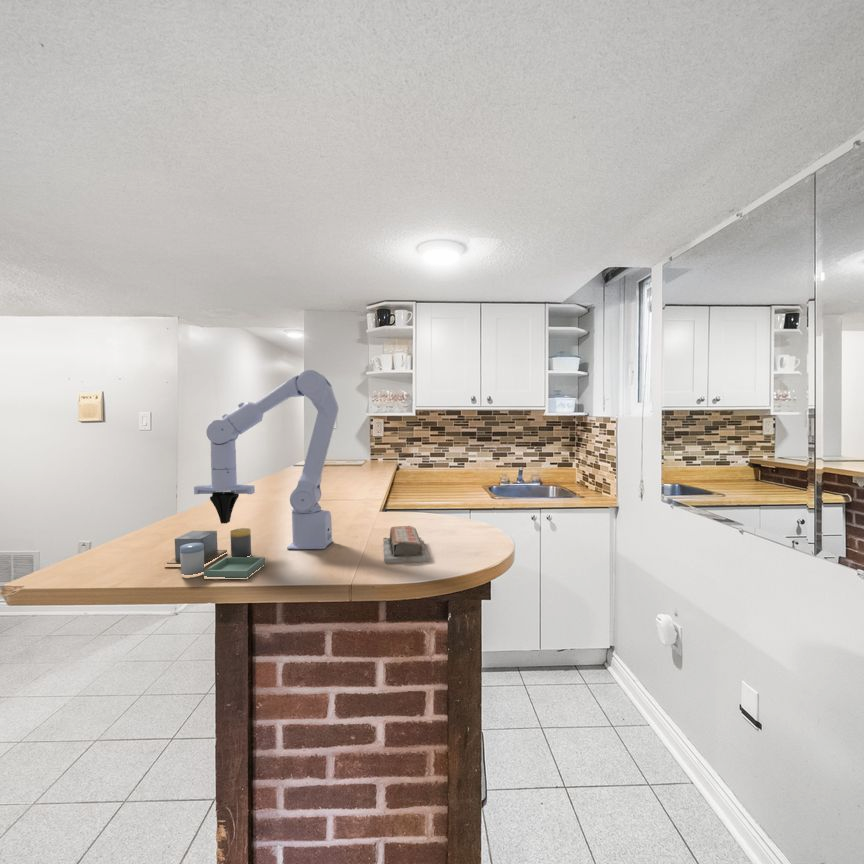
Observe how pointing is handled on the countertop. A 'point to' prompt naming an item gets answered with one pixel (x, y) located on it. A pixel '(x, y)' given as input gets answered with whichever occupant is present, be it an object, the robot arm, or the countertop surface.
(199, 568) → the blue part
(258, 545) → the countertop surface
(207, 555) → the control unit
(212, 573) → the parts tray
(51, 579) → the countertop surface
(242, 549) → the amber part
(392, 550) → the packaged product
